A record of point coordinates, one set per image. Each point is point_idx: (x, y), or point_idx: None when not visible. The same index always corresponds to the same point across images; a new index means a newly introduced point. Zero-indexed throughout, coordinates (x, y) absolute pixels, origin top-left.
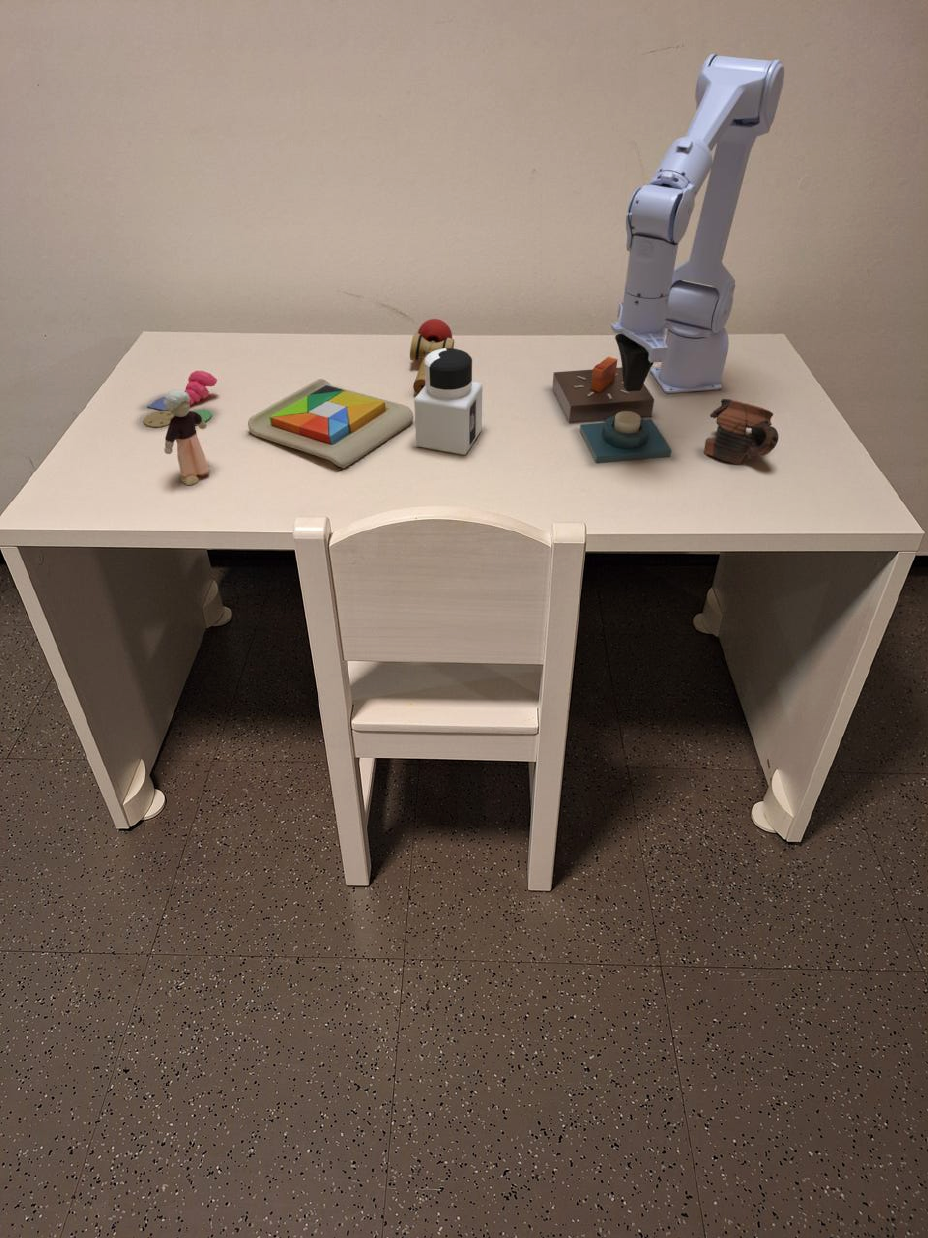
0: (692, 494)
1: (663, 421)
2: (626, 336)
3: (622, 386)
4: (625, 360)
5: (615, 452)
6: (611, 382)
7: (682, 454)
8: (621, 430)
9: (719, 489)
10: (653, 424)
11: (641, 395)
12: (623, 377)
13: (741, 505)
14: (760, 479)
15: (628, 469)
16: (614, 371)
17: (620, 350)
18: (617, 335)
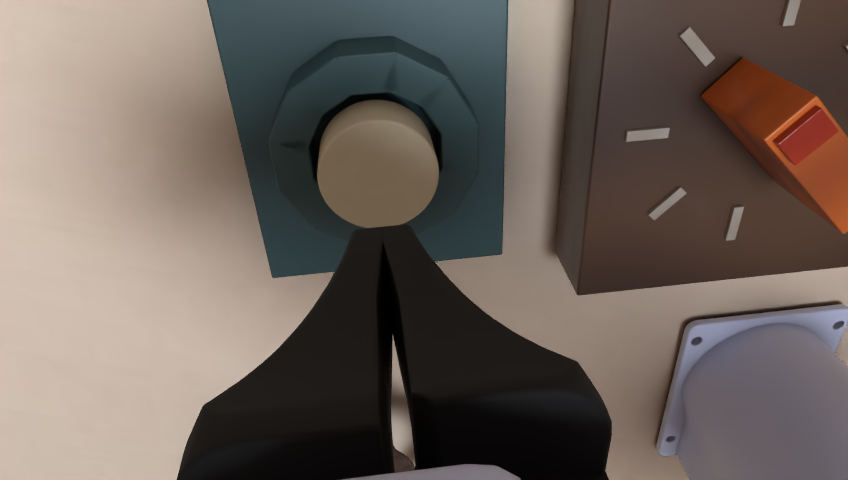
0: (35, 281)
1: (517, 282)
2: (530, 470)
3: (715, 202)
4: (318, 344)
5: (243, 69)
6: (761, 164)
7: (297, 298)
8: (327, 127)
9: (87, 355)
10: (460, 253)
11: (617, 258)
12: (402, 249)
13: (5, 390)
14: (165, 449)
15: (176, 101)
16: (797, 196)
17: (457, 344)
18: (572, 408)
